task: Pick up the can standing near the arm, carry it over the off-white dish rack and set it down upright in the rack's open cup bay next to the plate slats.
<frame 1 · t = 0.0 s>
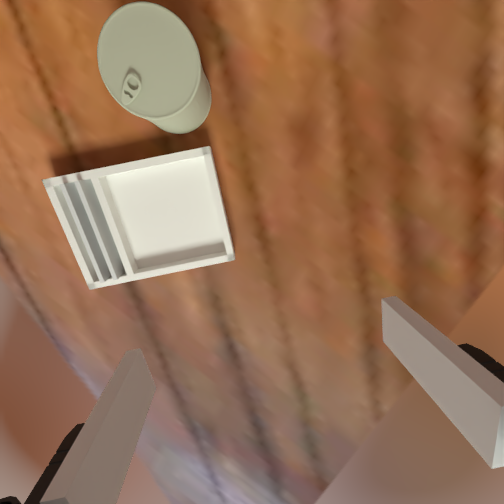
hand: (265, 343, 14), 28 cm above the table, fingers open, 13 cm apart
can: (176, 96, 35), on the table
rack: (151, 218, 39), on the table
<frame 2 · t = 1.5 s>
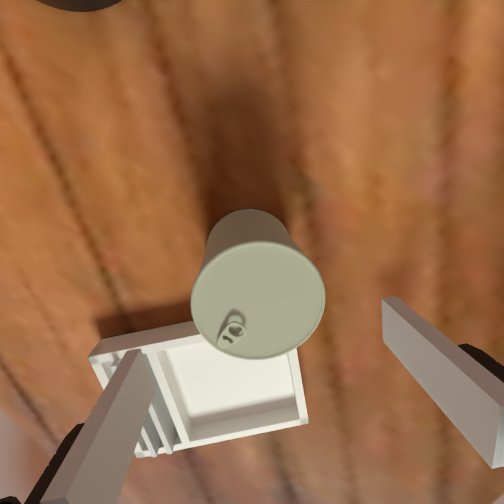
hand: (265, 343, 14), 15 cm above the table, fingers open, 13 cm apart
can: (249, 250, 29), on the table
rack: (209, 373, 33), on the table
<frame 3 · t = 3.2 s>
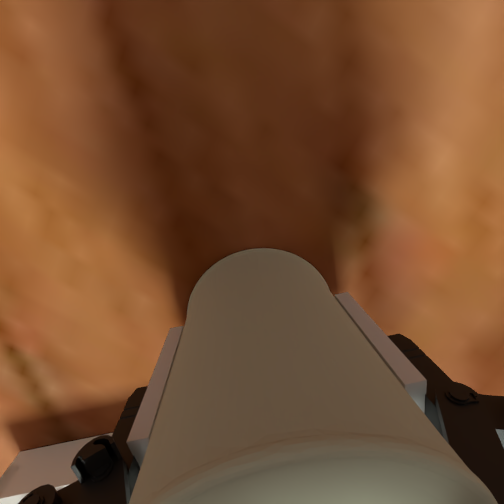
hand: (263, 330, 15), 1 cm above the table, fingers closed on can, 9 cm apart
can: (260, 314, 17), on the table, touching gripper
rack: (197, 491, 22), on the table
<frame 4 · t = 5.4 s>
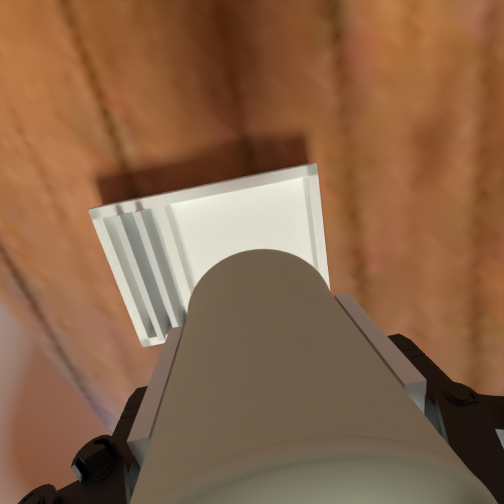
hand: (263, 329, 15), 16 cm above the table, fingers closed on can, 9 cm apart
can: (260, 315, 17), point 14 cm above the table, touching gripper
rack: (222, 254, 30), on the table
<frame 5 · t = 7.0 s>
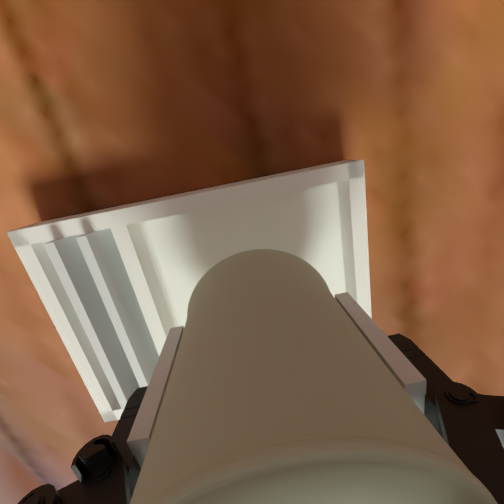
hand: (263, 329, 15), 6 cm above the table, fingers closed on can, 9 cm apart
can: (260, 315, 17), point 5 cm above the table, touching gripper
rack: (218, 289, 21), on the table
when the fingers open (4 cm above the table, at t = 8.0 s): can drops 1 cm, resting on rack.
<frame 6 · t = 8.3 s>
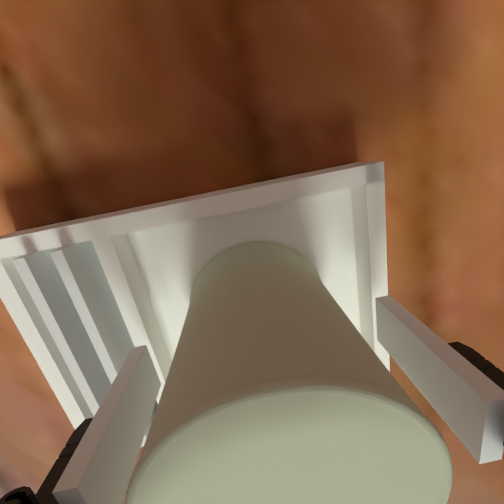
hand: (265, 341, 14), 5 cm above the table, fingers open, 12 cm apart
can: (257, 303, 18), point 1 cm above the table, touching rack
rack: (216, 306, 19), on the table
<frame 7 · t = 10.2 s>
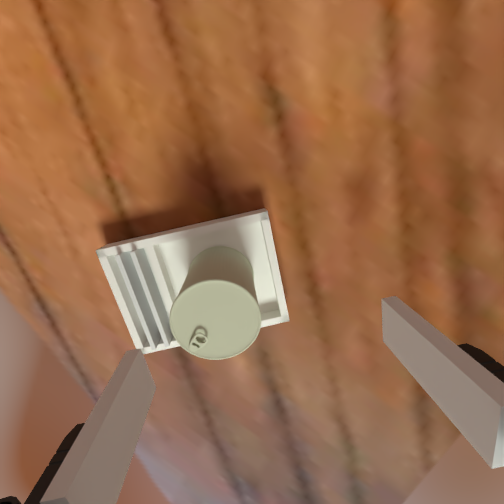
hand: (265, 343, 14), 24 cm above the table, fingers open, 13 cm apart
can: (221, 276, 37), point 1 cm above the table, touching rack
rack: (201, 279, 38), on the table
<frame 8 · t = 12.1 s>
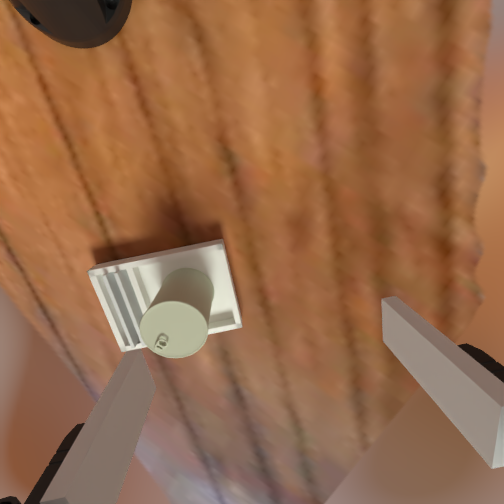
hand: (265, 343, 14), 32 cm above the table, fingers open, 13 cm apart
can: (188, 291, 47), point 1 cm above the table, touching rack
rack: (173, 292, 47), on the table
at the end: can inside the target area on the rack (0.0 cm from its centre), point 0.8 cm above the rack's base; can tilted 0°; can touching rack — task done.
